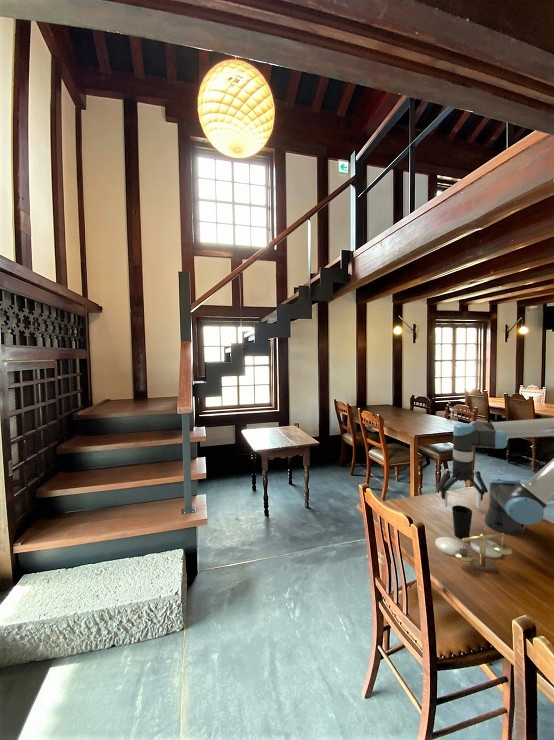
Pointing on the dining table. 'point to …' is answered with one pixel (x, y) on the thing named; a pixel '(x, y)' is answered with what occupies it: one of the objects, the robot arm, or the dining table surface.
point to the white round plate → (489, 549)
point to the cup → (461, 521)
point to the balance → (482, 553)
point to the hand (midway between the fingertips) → (461, 506)
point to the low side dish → (448, 545)
